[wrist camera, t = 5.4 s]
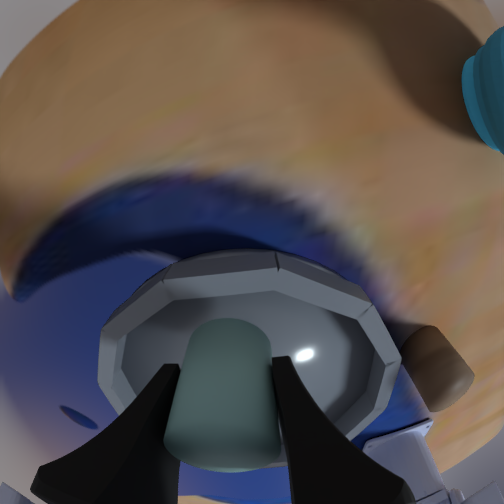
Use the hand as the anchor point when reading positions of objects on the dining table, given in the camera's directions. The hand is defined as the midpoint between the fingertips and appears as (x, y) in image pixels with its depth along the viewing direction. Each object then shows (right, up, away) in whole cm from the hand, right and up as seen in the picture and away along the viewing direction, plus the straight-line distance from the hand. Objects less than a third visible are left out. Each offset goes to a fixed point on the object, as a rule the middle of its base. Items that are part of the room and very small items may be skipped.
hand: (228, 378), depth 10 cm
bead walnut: (+13, -2, +6) cm, 15 cm away
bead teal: (0, +1, +1) cm, 2 cm away
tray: (+1, -3, +7) cm, 8 cm away
